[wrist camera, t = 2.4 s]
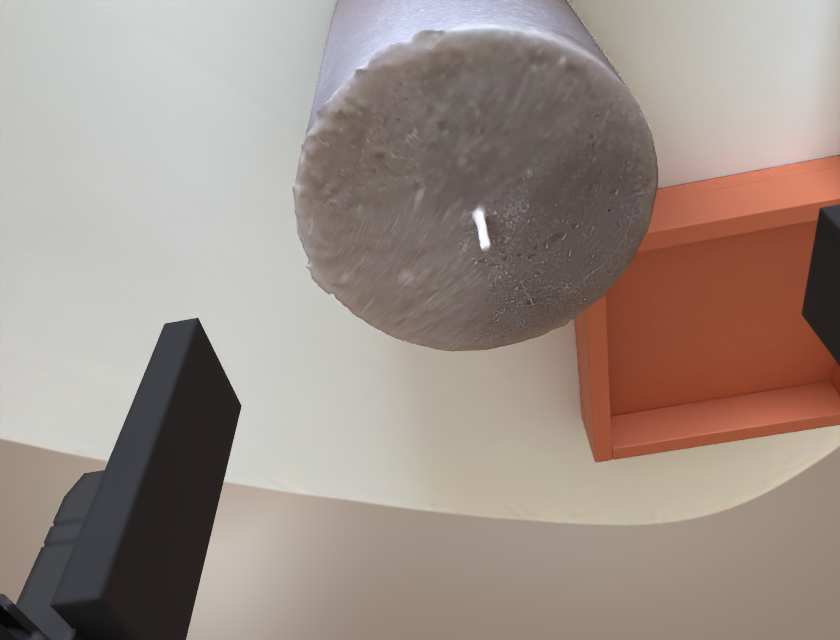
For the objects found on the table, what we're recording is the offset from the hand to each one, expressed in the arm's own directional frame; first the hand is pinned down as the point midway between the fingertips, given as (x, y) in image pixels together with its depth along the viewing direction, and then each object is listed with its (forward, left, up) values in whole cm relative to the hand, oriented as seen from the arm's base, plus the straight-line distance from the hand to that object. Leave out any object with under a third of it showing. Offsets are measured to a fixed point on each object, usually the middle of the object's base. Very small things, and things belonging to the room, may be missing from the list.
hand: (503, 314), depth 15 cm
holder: (+12, -16, -18) cm, 27 cm away
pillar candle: (0, 0, -18) cm, 18 cm away
